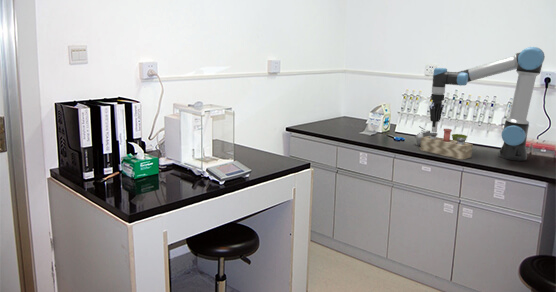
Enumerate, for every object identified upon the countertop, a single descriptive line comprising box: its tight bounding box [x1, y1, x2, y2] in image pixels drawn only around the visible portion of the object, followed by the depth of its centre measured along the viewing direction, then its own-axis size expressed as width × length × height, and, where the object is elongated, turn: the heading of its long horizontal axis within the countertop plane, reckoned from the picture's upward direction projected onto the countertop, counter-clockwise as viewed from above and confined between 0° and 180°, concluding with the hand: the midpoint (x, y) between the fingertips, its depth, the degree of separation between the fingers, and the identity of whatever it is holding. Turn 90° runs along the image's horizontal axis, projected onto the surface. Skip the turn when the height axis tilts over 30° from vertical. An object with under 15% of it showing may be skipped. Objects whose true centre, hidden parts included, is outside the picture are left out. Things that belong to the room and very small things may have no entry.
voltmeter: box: [414, 125, 431, 147], centre depth 299 cm, size 27×11×10 cm, turn 1°
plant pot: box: [451, 133, 468, 143], centre depth 288 cm, size 9×9×9 cm
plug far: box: [430, 132, 438, 139], centre depth 280 cm, size 5×5×10 cm
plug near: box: [457, 138, 466, 145], centre depth 267 cm, size 5×5×10 cm
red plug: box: [442, 128, 453, 142], centre depth 273 cm, size 5×5×10 cm
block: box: [419, 136, 474, 161], centre depth 274 cm, size 28×10×8 cm, turn 40°
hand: (434, 131), depth 279 cm, fingers closed
